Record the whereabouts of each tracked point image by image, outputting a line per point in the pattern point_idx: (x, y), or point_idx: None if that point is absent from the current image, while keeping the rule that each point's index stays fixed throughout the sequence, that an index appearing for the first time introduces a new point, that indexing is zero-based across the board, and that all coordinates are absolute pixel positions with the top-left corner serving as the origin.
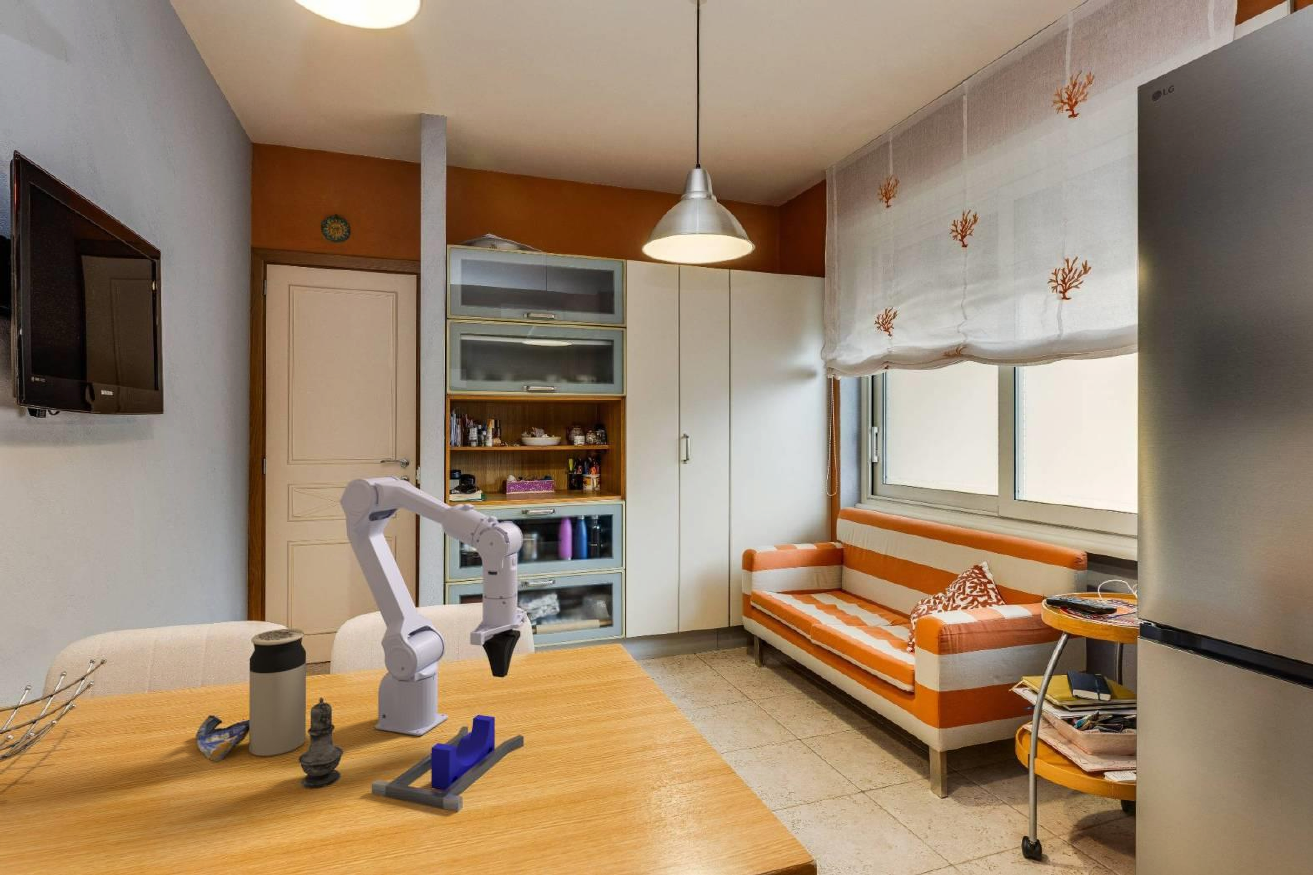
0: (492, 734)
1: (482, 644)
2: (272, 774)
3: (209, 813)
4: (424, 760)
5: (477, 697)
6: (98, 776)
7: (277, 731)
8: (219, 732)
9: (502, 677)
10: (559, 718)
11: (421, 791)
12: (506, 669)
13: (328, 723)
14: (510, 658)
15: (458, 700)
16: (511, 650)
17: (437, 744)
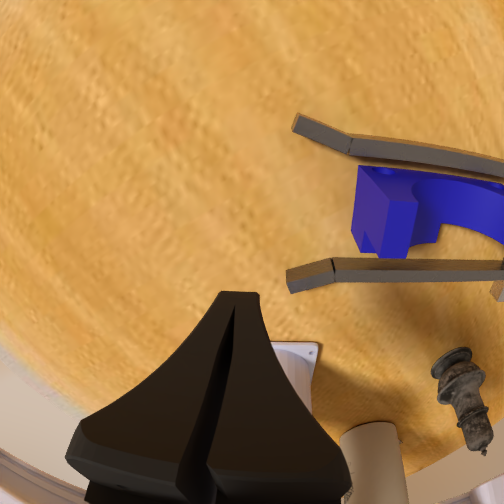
0: (386, 183)
1: (501, 476)
2: (433, 401)
3: (493, 384)
4: (449, 276)
5: (121, 332)
6: (418, 458)
7: (397, 446)
8: None
9: (258, 294)
10: (111, 111)
11: None
12: (237, 307)
13: (483, 418)
14: (198, 338)
15: (150, 353)
16: (190, 376)
17: None
